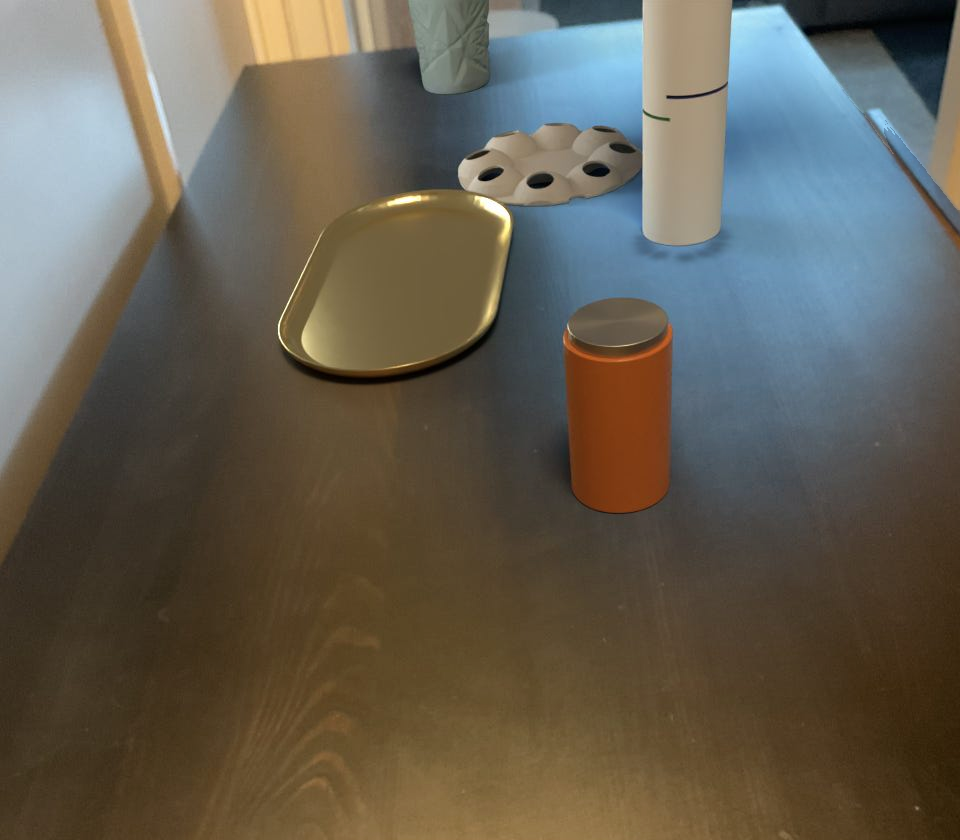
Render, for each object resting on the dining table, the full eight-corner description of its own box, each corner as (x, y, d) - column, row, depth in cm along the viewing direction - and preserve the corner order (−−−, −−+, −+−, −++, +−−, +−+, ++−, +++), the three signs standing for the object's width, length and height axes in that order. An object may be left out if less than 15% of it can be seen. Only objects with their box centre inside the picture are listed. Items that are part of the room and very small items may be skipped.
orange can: (659, 450, 75) (661, 288, 67) (679, 506, 71) (683, 340, 62) (565, 462, 76) (556, 302, 67) (578, 519, 71) (570, 355, 63)
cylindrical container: (713, 247, 97) (728, -81, 80) (634, 243, 99) (633, -76, 82) (726, 213, 102) (744, -103, 84) (651, 211, 104) (653, -98, 86)
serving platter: (258, 391, 87) (253, 374, 86) (342, 210, 112) (339, 195, 111) (488, 383, 84) (486, 365, 83) (522, 199, 109) (521, 183, 108)
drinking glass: (402, 87, 138) (387, -19, 130) (461, 64, 143) (449, -40, 134) (455, 101, 132) (442, -10, 124) (514, 76, 137) (505, -32, 129)
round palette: (649, 128, 119) (649, 109, 118) (636, 202, 106) (636, 182, 104) (476, 136, 123) (474, 118, 122) (442, 208, 109) (439, 189, 108)
